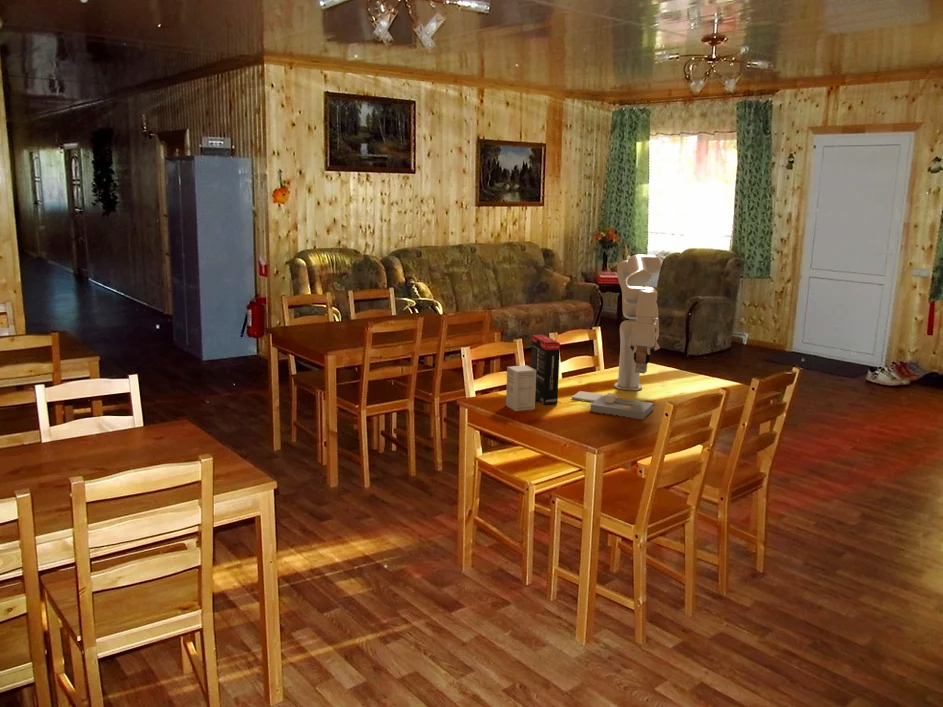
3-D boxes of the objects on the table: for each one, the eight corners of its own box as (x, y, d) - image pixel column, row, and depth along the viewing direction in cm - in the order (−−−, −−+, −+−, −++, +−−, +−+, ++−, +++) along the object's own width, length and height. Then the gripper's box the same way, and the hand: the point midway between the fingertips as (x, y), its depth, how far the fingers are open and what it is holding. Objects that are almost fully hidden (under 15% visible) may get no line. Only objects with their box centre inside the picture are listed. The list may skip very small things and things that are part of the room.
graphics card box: (558, 405, 338) (562, 341, 332) (543, 406, 336) (546, 342, 330) (542, 394, 354) (545, 334, 348) (528, 395, 352) (531, 334, 346)
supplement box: (525, 403, 339) (527, 364, 335) (535, 409, 330) (537, 369, 327) (505, 405, 335) (506, 366, 331) (514, 411, 327) (516, 371, 323)
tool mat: (579, 393, 359) (580, 391, 358) (606, 396, 353) (606, 394, 353) (571, 399, 348) (571, 397, 348) (597, 403, 343) (598, 401, 343)
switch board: (601, 402, 344) (602, 395, 344) (652, 410, 335) (653, 402, 334) (590, 411, 330) (590, 404, 329) (643, 419, 321) (643, 412, 320)
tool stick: (637, 370, 342) (639, 338, 338) (646, 371, 340) (649, 339, 337) (634, 372, 338) (637, 339, 335) (644, 373, 336) (646, 341, 333)
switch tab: (608, 399, 336) (608, 393, 336) (615, 401, 335) (615, 394, 334) (605, 402, 333) (606, 395, 332) (612, 403, 332) (613, 396, 331)
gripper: (667, 320, 334) (663, 363, 338) (627, 316, 341) (624, 358, 345) (663, 323, 327) (659, 367, 331) (622, 319, 334) (619, 361, 338)
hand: (641, 361), depth 338 cm, fingers closed on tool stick, 4 cm apart
